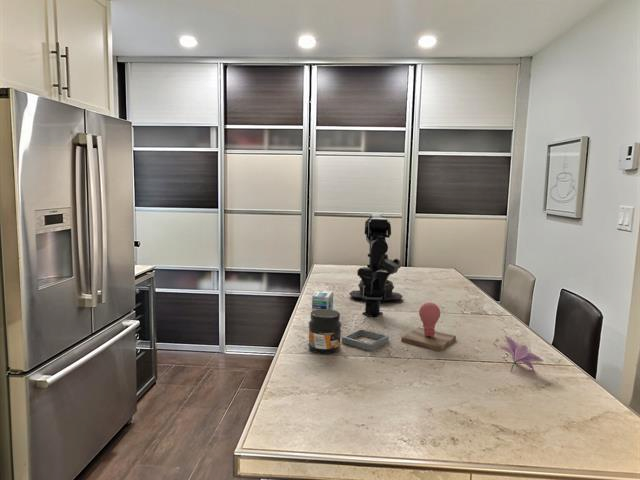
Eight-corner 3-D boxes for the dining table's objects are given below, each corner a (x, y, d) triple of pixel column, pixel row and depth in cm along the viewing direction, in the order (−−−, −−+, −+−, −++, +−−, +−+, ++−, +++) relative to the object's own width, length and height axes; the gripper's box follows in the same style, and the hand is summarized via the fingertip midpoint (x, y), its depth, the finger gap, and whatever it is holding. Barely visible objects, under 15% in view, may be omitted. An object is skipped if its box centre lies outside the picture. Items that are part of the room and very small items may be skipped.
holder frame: (359, 333, 159) (360, 328, 159) (388, 341, 152) (388, 335, 152) (341, 342, 150) (341, 336, 150) (371, 351, 143) (371, 345, 143)
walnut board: (418, 331, 164) (418, 327, 164) (455, 340, 156) (455, 335, 155) (401, 341, 153) (401, 337, 153) (439, 351, 145) (440, 346, 144)
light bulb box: (328, 324, 169) (329, 297, 168) (311, 323, 170) (311, 295, 169) (333, 316, 179) (333, 290, 178) (316, 315, 181) (317, 289, 179)
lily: (545, 383, 125) (552, 351, 128) (509, 368, 124) (518, 335, 126) (517, 378, 137) (525, 348, 139) (484, 364, 135) (493, 334, 138)
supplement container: (317, 356, 137) (318, 319, 136) (302, 345, 147) (303, 310, 145) (346, 351, 142) (347, 315, 141) (330, 341, 152) (331, 307, 150)
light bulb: (413, 335, 154) (415, 302, 153) (425, 331, 159) (427, 299, 158) (431, 341, 149) (433, 306, 148) (442, 336, 154) (444, 303, 153)
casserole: (348, 302, 202) (348, 284, 200) (350, 292, 220) (350, 276, 219) (403, 305, 199) (404, 287, 198) (401, 295, 217) (401, 278, 216)
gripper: (384, 256, 154) (382, 300, 156) (408, 251, 169) (406, 291, 171) (357, 253, 161) (355, 295, 163) (382, 248, 175) (381, 286, 177)
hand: (375, 292), depth 168 cm, fingers open, 9 cm apart
